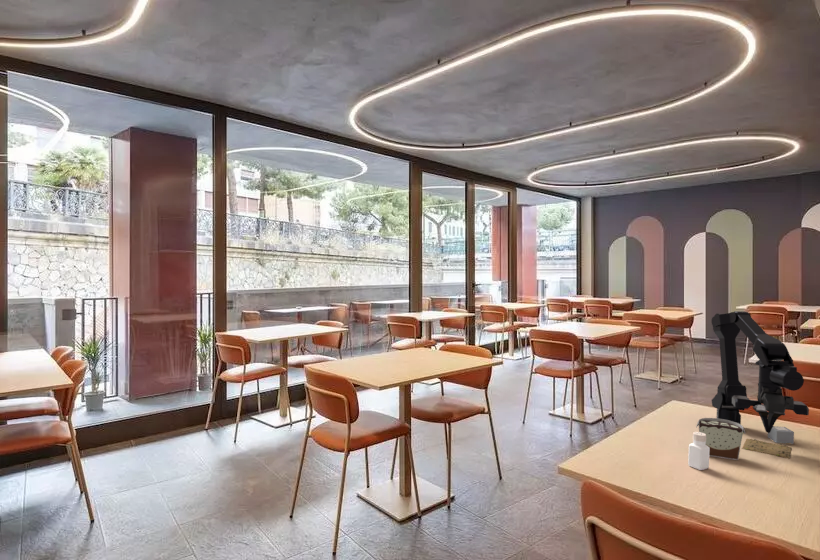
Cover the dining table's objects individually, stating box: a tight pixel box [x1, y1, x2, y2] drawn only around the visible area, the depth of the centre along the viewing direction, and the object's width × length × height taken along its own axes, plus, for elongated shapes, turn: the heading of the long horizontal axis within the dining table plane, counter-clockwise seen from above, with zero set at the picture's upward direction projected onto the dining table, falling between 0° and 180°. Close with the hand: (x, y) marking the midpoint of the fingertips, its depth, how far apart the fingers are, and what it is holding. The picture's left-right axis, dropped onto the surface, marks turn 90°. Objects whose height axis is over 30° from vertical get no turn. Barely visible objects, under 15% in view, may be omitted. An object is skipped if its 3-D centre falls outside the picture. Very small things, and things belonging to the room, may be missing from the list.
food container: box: [695, 417, 746, 461], centre depth 150 cm, size 12×6×10 cm, turn 65°
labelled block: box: [767, 425, 795, 445], centre depth 162 cm, size 5×5×4 cm
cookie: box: [741, 438, 793, 460], centre depth 155 cm, size 12×12×1 cm
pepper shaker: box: [687, 431, 710, 471], centre depth 139 cm, size 4×4×10 cm
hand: (767, 432), depth 155 cm, fingers closed
